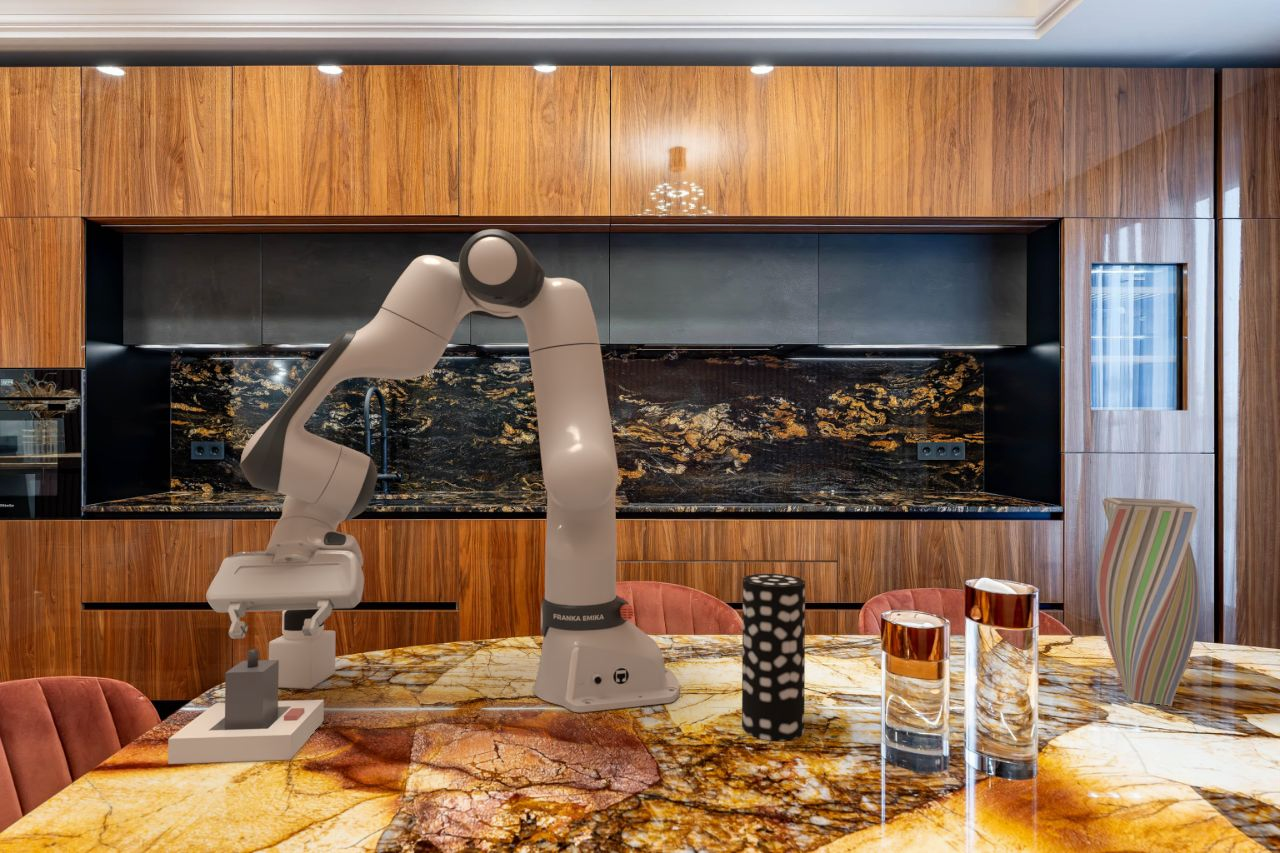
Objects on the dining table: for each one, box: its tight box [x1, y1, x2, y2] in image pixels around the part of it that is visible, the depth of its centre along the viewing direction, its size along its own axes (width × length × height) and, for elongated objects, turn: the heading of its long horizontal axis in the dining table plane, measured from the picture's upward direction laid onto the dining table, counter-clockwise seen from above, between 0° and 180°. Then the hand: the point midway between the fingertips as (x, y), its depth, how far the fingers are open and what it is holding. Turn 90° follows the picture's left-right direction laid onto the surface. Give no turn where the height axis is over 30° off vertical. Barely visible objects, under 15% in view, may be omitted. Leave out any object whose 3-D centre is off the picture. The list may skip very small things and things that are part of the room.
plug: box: [224, 648, 279, 730], centre depth 88 cm, size 4×4×11 cm
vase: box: [1095, 496, 1200, 707], centre depth 105 cm, size 14×14×30 cm
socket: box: [167, 699, 325, 765], centre depth 88 cm, size 14×11×4 cm
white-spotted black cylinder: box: [741, 573, 806, 742], centre depth 94 cm, size 8×8×20 cm
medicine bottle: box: [268, 609, 337, 690], centre depth 110 cm, size 7×7×12 cm
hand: (272, 635), depth 93 cm, fingers open, 8 cm apart
